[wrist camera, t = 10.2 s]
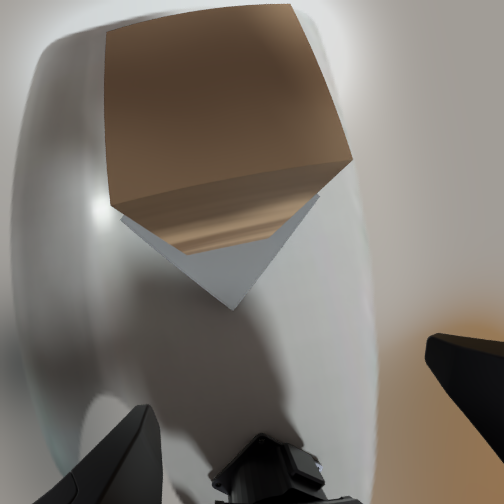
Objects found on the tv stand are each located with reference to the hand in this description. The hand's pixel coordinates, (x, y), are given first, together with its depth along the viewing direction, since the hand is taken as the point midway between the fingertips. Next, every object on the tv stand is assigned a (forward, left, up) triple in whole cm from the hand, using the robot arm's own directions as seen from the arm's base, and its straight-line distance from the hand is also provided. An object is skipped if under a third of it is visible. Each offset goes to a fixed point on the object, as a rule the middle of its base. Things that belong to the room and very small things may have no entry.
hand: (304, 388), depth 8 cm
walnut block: (+4, +7, -10) cm, 13 cm away
